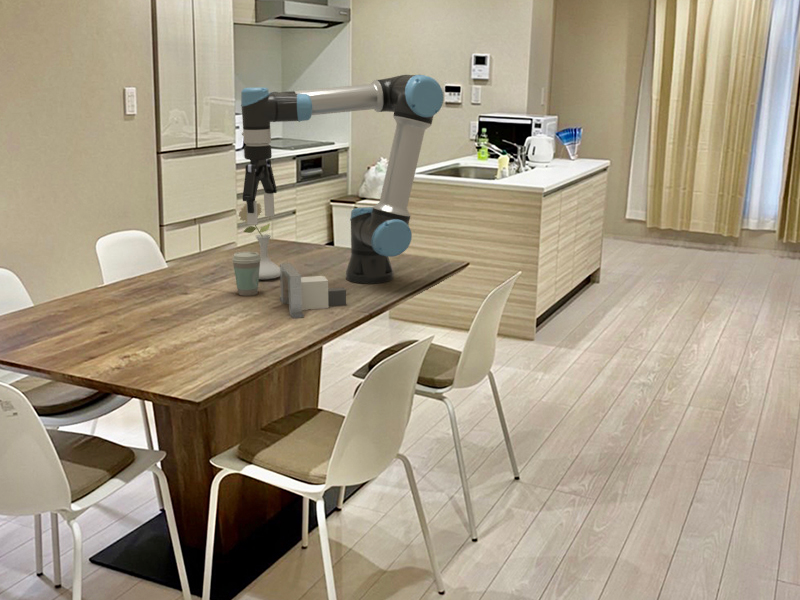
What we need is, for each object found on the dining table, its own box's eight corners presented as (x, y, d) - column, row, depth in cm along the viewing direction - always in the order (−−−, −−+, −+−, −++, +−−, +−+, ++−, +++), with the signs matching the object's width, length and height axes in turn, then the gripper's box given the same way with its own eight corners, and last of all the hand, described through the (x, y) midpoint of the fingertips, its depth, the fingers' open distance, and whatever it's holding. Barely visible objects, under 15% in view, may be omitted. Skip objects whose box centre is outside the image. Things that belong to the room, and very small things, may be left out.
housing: (290, 298, 260) (288, 261, 257) (303, 317, 241) (302, 277, 238) (279, 299, 259) (278, 261, 256) (292, 318, 240) (291, 278, 237)
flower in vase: (279, 272, 292) (276, 197, 285) (285, 280, 281) (283, 202, 275) (239, 275, 288) (235, 199, 281) (244, 283, 277) (241, 204, 271)
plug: (342, 301, 257) (342, 274, 255) (347, 306, 252) (347, 279, 250) (289, 305, 253) (288, 278, 251) (293, 310, 247) (292, 283, 245)
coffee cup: (256, 297, 261) (254, 257, 258) (229, 296, 263) (227, 256, 260) (266, 290, 269) (264, 251, 266) (239, 289, 271) (238, 250, 268)
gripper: (260, 140, 259) (264, 212, 264) (227, 149, 235) (232, 227, 241) (285, 140, 257) (288, 212, 263) (253, 149, 234) (258, 228, 239)
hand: (261, 220), depth 252 cm, fingers open, 13 cm apart
